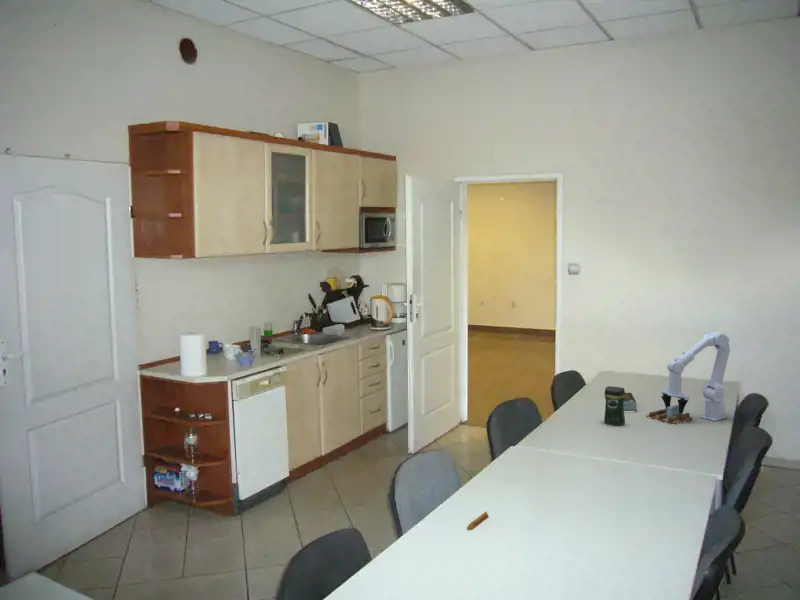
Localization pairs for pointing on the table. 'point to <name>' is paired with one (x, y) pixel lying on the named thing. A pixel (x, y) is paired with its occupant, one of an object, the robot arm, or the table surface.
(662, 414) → the rack
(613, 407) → the coffee jar
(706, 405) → the robot arm
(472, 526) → the pencil
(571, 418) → the table surface
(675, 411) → the tile
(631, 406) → the beverage carton
